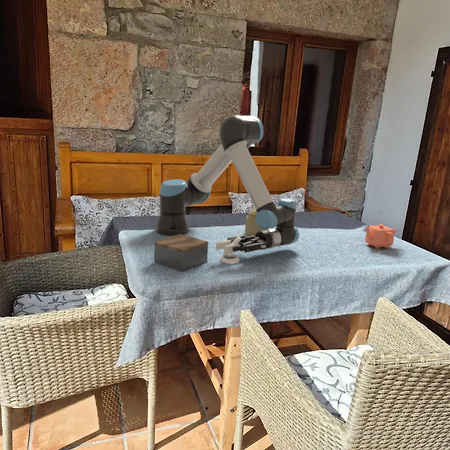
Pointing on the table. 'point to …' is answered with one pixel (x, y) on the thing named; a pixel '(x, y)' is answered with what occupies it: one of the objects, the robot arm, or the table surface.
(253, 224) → the sugar bowl
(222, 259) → the white ring with handle
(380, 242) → the teapot
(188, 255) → the block
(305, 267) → the table surface
